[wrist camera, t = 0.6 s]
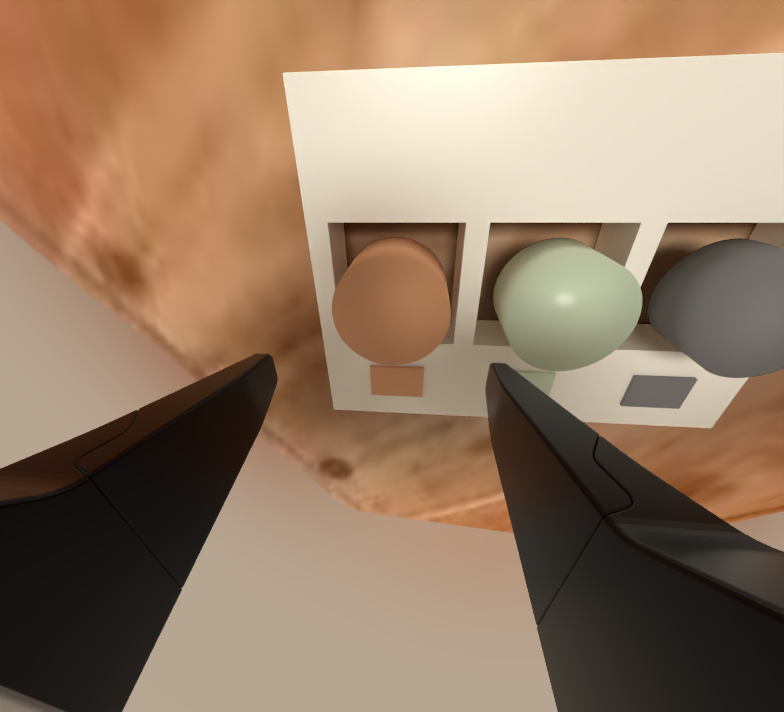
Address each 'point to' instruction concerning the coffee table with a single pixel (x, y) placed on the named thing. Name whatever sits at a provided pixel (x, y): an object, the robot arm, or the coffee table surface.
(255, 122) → the coffee table surface
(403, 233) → the coffee table surface
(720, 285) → the charcoal button
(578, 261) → the sage button
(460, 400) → the panel
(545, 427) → the robot arm
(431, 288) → the rust button
